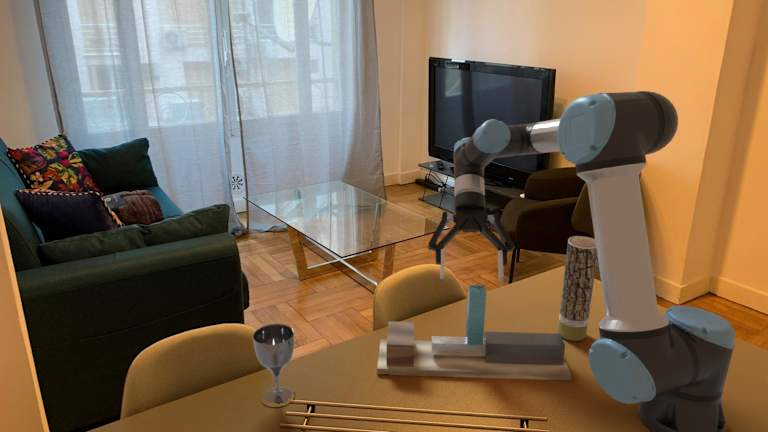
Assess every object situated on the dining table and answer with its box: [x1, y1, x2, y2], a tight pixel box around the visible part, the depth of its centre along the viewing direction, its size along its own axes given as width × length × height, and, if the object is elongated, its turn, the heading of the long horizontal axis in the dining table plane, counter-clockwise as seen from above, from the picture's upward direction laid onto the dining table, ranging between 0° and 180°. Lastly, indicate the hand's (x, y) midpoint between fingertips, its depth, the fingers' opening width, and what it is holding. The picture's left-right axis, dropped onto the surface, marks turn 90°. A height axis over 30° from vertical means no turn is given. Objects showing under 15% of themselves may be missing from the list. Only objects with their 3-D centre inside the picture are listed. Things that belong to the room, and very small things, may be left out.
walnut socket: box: [386, 321, 415, 367], centre depth 130 cm, size 10×6×6 cm, turn 177°
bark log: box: [557, 235, 598, 342], centre depth 138 cm, size 7×7×25 cm
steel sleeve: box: [483, 331, 566, 365], centre depth 129 cm, size 5×17×5 cm, turn 87°
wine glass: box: [252, 323, 295, 404], centre depth 116 cm, size 8×8×15 cm
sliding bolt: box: [431, 284, 487, 356], centre depth 127 cm, size 4×27×16 cm, turn 87°
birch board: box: [376, 338, 572, 381], centre depth 131 cm, size 12×42×2 cm, turn 87°
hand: (471, 278), depth 133 cm, fingers open, 13 cm apart
